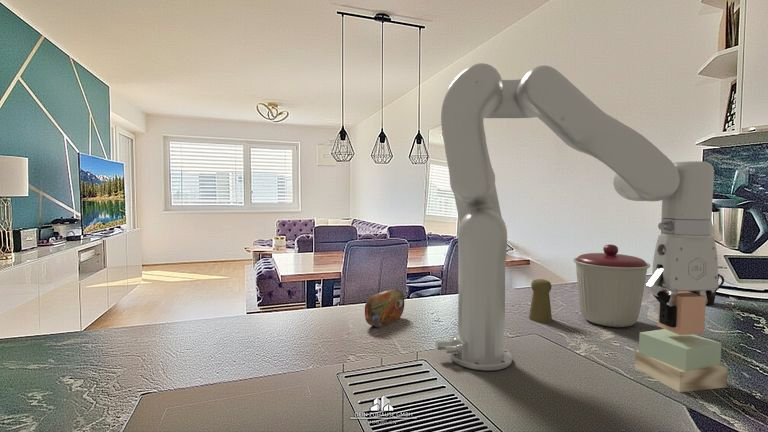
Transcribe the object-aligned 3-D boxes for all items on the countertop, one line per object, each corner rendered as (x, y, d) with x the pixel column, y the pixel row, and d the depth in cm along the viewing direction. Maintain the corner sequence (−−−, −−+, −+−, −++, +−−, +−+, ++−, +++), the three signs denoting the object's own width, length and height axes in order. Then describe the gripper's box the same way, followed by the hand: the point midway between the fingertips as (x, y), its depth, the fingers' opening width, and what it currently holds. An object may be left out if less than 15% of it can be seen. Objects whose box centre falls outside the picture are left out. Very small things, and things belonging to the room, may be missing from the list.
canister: (557, 315, 116) (559, 242, 115) (604, 309, 122) (606, 239, 121) (612, 336, 99) (615, 250, 98) (664, 328, 105) (667, 247, 104)
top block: (685, 371, 72) (686, 349, 72) (638, 352, 80) (639, 332, 80) (720, 364, 75) (721, 343, 74) (671, 347, 83) (672, 327, 83)
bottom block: (679, 394, 72) (680, 372, 72) (634, 369, 82) (635, 350, 81) (726, 389, 74) (727, 367, 73) (677, 366, 83) (678, 347, 83)
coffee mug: (690, 305, 127) (692, 273, 126) (679, 298, 135) (680, 268, 135) (735, 308, 124) (737, 275, 123) (721, 300, 132) (723, 270, 131)
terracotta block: (680, 335, 74) (682, 297, 74) (657, 326, 79) (659, 290, 79) (704, 333, 75) (705, 296, 75) (680, 325, 80) (681, 289, 80)
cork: (548, 316, 116) (549, 277, 115) (555, 322, 110) (556, 282, 109) (526, 315, 116) (527, 277, 116) (532, 322, 110) (532, 281, 110)
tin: (371, 331, 103) (371, 298, 103) (362, 328, 105) (362, 296, 105) (405, 316, 115) (405, 287, 115) (396, 314, 117) (396, 285, 116)
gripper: (661, 231, 71) (657, 333, 72) (744, 229, 74) (739, 328, 75) (629, 227, 78) (625, 320, 79) (705, 226, 81) (701, 316, 82)
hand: (680, 323), depth 77 cm, fingers closed on terracotta block, 4 cm apart
